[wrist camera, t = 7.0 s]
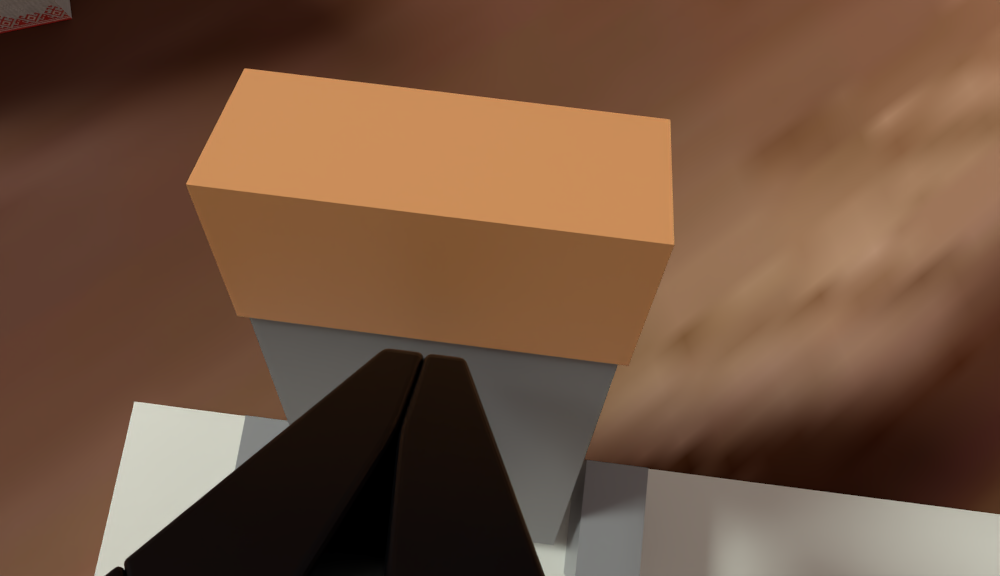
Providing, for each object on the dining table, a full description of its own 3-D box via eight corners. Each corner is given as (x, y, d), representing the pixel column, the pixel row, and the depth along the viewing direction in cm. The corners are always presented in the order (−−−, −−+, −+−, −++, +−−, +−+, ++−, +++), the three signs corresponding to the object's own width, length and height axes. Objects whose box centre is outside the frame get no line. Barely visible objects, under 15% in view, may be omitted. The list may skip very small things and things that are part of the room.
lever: (558, 548, 13) (673, 245, 6) (315, 517, 13) (186, 184, 6) (564, 461, 14) (670, 119, 7) (338, 431, 14) (244, 68, 7)
